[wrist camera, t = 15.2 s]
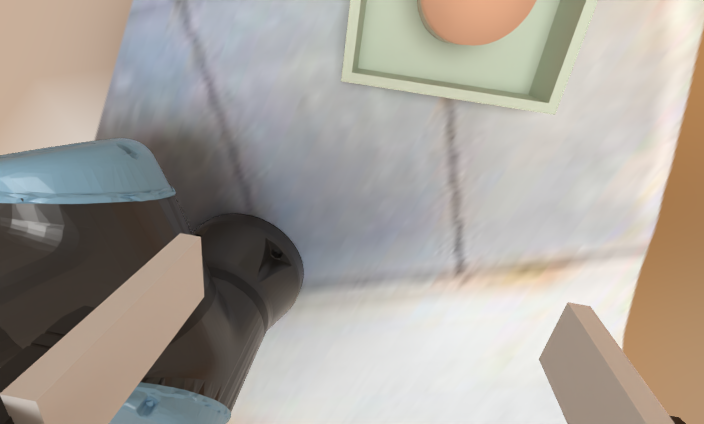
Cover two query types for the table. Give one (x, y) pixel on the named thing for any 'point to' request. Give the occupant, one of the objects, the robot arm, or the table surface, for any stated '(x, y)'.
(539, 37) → the caddy
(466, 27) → the peach rounded cylinder
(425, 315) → the table surface
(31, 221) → the robot arm
